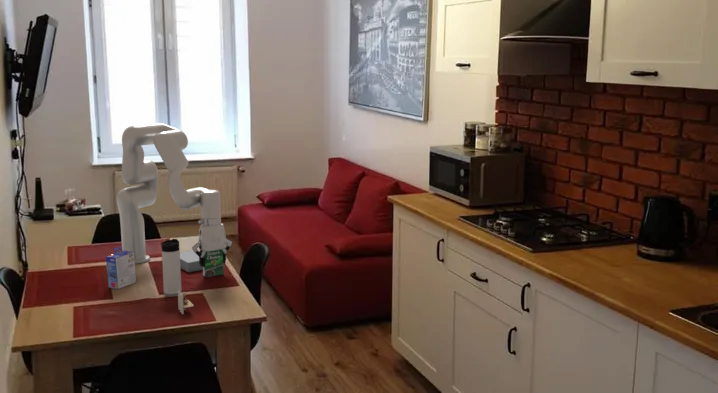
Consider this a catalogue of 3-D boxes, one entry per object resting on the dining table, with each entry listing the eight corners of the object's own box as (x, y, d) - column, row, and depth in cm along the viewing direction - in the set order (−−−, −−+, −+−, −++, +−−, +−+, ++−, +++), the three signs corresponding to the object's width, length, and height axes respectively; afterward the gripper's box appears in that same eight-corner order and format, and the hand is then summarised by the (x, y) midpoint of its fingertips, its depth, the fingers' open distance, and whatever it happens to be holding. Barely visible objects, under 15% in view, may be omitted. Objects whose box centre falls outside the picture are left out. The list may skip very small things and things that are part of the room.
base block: (188, 272, 293) (188, 262, 292) (172, 263, 305) (171, 254, 304) (213, 267, 299) (213, 258, 299) (196, 259, 312) (196, 250, 311)
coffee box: (204, 277, 285) (202, 245, 283) (202, 275, 288) (201, 243, 286) (224, 275, 289) (223, 243, 287) (222, 273, 292) (221, 241, 289)
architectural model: (188, 309, 251) (187, 288, 250) (194, 315, 245) (193, 294, 244) (178, 311, 250) (177, 290, 248) (184, 317, 244) (183, 296, 242)
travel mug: (185, 292, 268) (183, 239, 264) (175, 297, 262) (172, 243, 258) (170, 290, 270) (168, 238, 266) (160, 295, 264) (157, 242, 260)
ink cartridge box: (125, 280, 282) (123, 244, 280) (136, 282, 280) (134, 245, 277) (107, 287, 273) (104, 250, 271) (118, 289, 271) (116, 251, 268)
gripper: (194, 226, 276) (196, 270, 280) (235, 220, 287) (237, 263, 290) (186, 222, 282) (188, 266, 285) (226, 217, 293) (228, 258, 296)
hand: (212, 264), depth 288 cm, fingers closed on coffee box, 8 cm apart
